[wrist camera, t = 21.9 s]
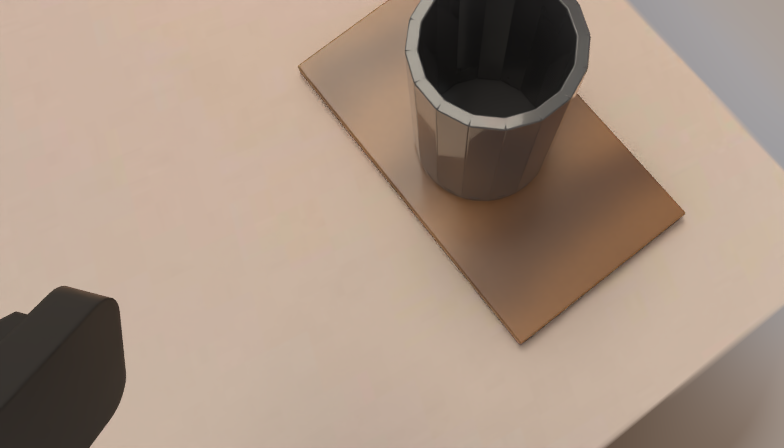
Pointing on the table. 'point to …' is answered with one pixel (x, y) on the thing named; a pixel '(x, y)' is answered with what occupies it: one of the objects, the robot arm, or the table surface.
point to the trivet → (507, 215)
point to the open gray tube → (492, 88)
